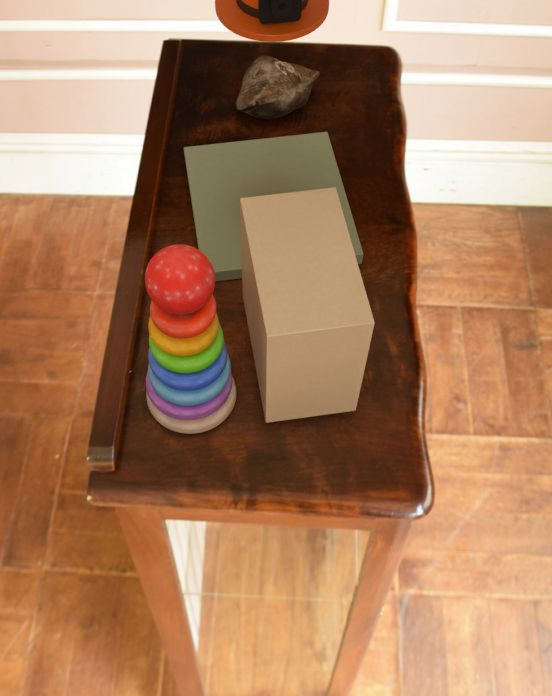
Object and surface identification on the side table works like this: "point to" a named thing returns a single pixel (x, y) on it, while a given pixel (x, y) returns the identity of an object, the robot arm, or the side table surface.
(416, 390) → the side table surface
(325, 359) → the tall cardboard box
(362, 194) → the side table surface
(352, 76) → the side table surface
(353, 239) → the stand board
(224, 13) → the hat
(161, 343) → the stacking toy
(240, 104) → the fossilized seashell
